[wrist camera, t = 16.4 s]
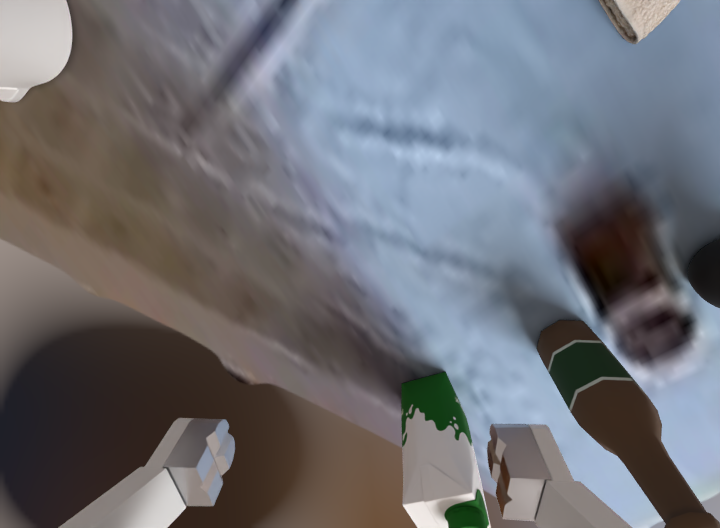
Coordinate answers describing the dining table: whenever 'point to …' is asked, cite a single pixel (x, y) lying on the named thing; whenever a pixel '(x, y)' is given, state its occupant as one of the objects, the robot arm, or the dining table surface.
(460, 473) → the milk carton
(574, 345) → the beer bottle
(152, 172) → the dining table surface
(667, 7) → the washcloth
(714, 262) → the cola bottle
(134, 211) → the dining table surface
